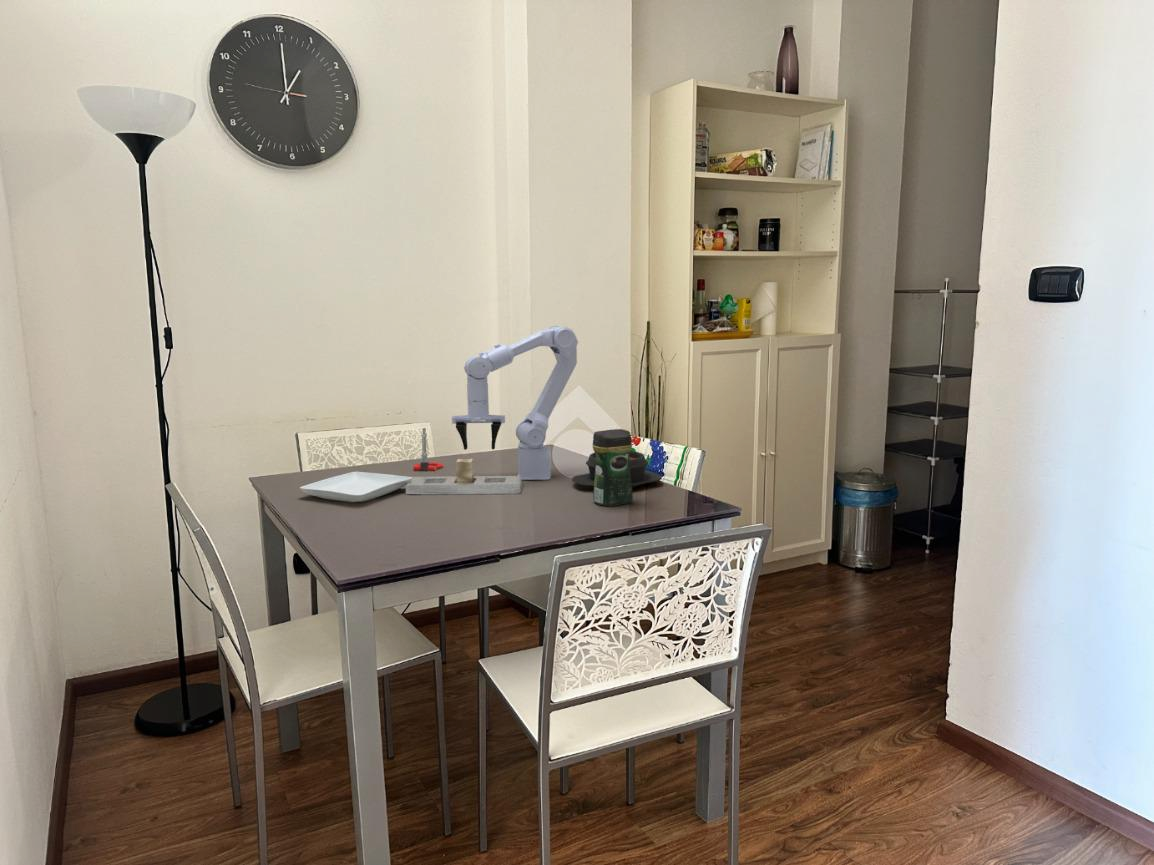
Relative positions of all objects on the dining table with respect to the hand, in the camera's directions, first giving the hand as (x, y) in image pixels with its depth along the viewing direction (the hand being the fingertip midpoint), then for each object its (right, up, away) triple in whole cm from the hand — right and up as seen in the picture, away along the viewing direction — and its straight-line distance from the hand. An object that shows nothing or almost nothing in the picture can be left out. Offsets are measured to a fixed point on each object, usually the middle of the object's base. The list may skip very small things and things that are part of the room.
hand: (479, 448), depth 228 cm
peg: (-3, -11, -7) cm, 13 cm away
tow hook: (-18, -7, +21) cm, 28 cm away
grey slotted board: (-3, -11, -7) cm, 13 cm away
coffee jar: (+36, -13, -22) cm, 44 cm away
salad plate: (-31, -12, -11) cm, 35 cm away
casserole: (+38, -10, -3) cm, 40 cm away
